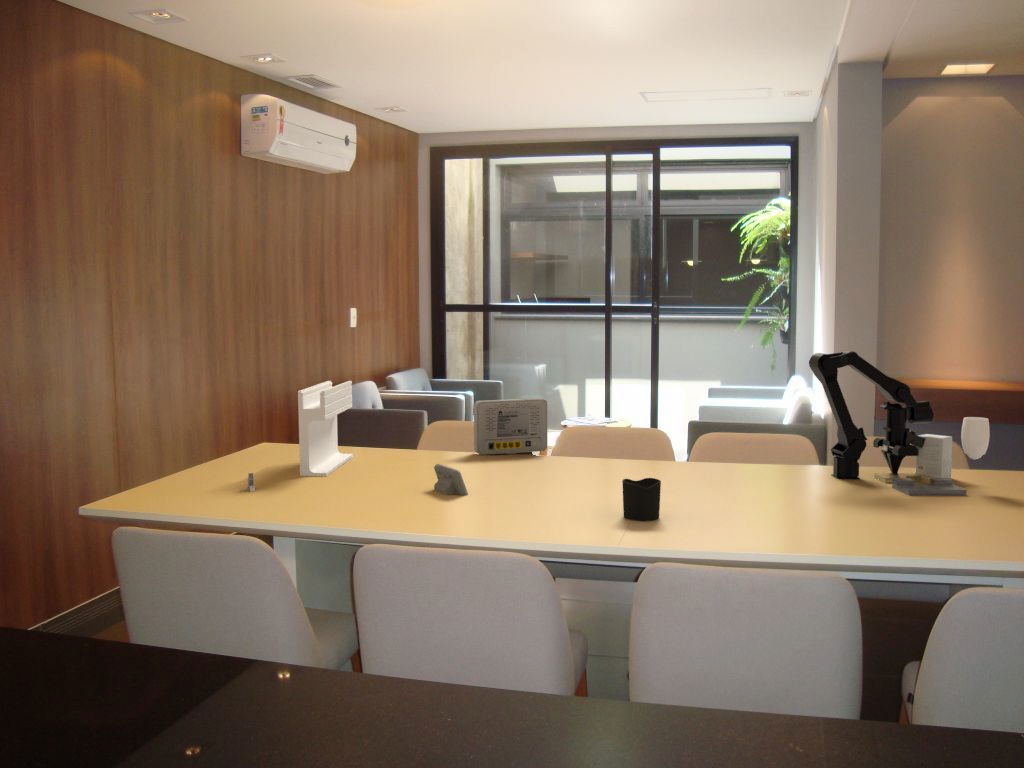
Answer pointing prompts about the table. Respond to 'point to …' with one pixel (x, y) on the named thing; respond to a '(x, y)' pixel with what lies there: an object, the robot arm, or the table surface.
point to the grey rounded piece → (975, 436)
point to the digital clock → (449, 481)
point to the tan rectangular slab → (916, 477)
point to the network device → (510, 426)
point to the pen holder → (641, 499)
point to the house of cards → (250, 482)
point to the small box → (935, 456)
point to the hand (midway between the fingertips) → (894, 474)
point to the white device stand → (321, 427)
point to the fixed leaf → (928, 487)
